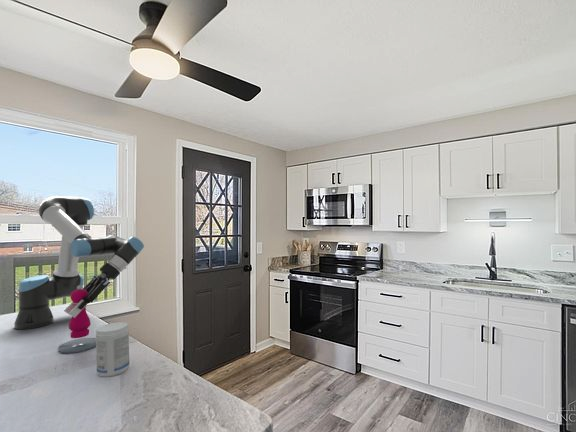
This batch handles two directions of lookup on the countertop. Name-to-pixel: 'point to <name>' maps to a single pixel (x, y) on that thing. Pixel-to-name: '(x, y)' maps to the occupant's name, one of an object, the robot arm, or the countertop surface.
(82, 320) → the pepper mill
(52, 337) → the countertop surface
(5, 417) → the countertop surface
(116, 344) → the supplement tub
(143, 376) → the countertop surface
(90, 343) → the saucer
